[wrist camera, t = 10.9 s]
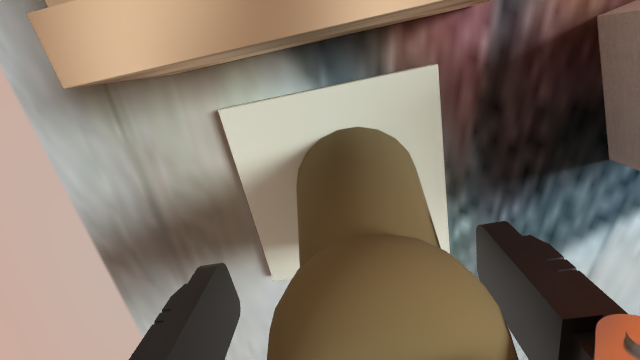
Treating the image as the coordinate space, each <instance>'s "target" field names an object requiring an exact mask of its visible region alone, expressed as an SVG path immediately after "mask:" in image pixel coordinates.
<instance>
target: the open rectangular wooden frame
mask: <svg viewBox="0 0 640 360" xmlns="http://www.w3.org/2000/svg"><path fill="white" fill-rule="evenodd" d="M486 1H489V0H45V2H46V4H47V6H48V8H44V9H41V10H37V11H33V12H29V13H26V14H27V16H28V18H29V20H30V22H31V24H32V26H33V28H34V30H35V32H36V34H37V36H38V38H39V40H40V42H41V44H42V46H43V48H44V50H45V52H46V54H47V56H48V58H49V60H50V62H51V64H52V66H53V68H54V70H55V72H56V74H57V76H58V78H59V80H60V82H61V85H62V87H63V89H66V88H73V87H81V86H89V85H96V84H104V83H112V82H120V81H127V80H135V79H143V78H150V77H158V76H166V75H173V74H177V73H182V72H186V71H191V70H195V69H199V68H204V67H208V66H212V65H217V64H221V63H226V62H230V61H234V60H239V59H243V58H247V57H252V56H256V55H260V54H265V53H269V52H274V51H278V50H282V49H287V48H291V47H295V46H300V45H304V44H309V43H313V42H317V41H322V40H326V39H330V38H335V37H339V36H344V35H348V34H352V33H357V32H361V31H365V30H370V29H374V28H378V27H383V26H387V25H392V24H396V23H400V22H405V21H409V20H413V19H418V18H422V17H427V16H431V15H435V14H440V13H444V12H448V11H453V10H457V9H462V8H466V7H470V6H475V5H478V4H481V3H483V2H486Z"/></svg>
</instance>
